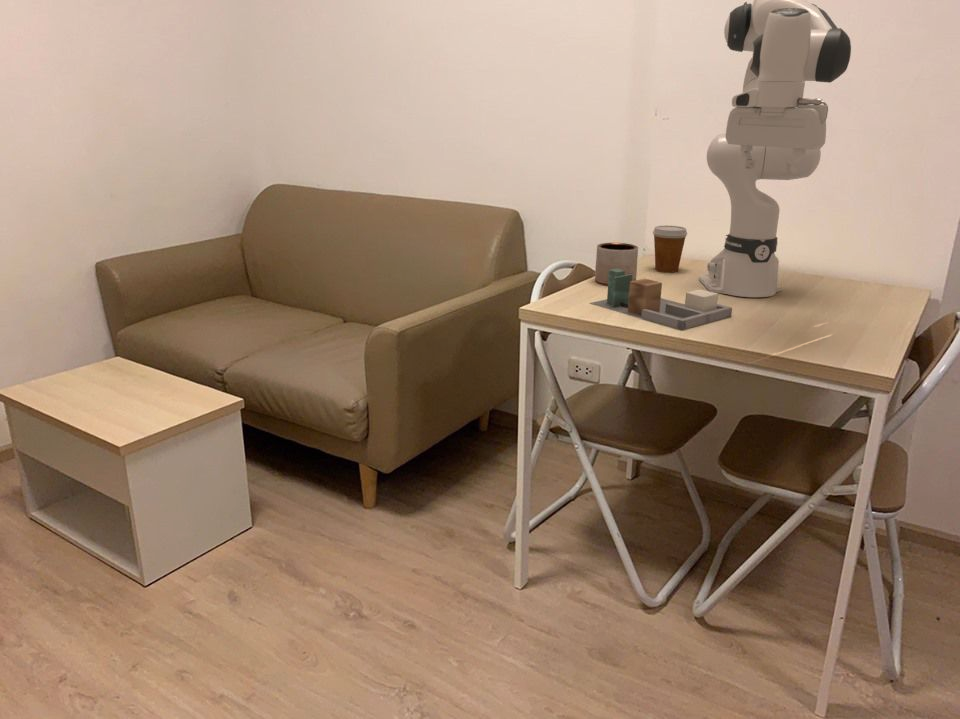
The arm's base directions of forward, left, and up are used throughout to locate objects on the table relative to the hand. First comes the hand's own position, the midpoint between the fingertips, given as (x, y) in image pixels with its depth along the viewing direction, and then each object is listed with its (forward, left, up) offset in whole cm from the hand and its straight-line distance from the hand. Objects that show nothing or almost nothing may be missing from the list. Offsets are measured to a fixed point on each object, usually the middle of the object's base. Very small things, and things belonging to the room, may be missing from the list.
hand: (769, 170), depth 155 cm
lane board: (-14, -15, -33) cm, 39 cm away
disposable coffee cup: (-56, +3, -33) cm, 65 cm away
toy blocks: (-16, -21, -33) cm, 42 cm away
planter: (-44, -16, -33) cm, 58 cm away
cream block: (-9, -7, -33) cm, 35 cm away
